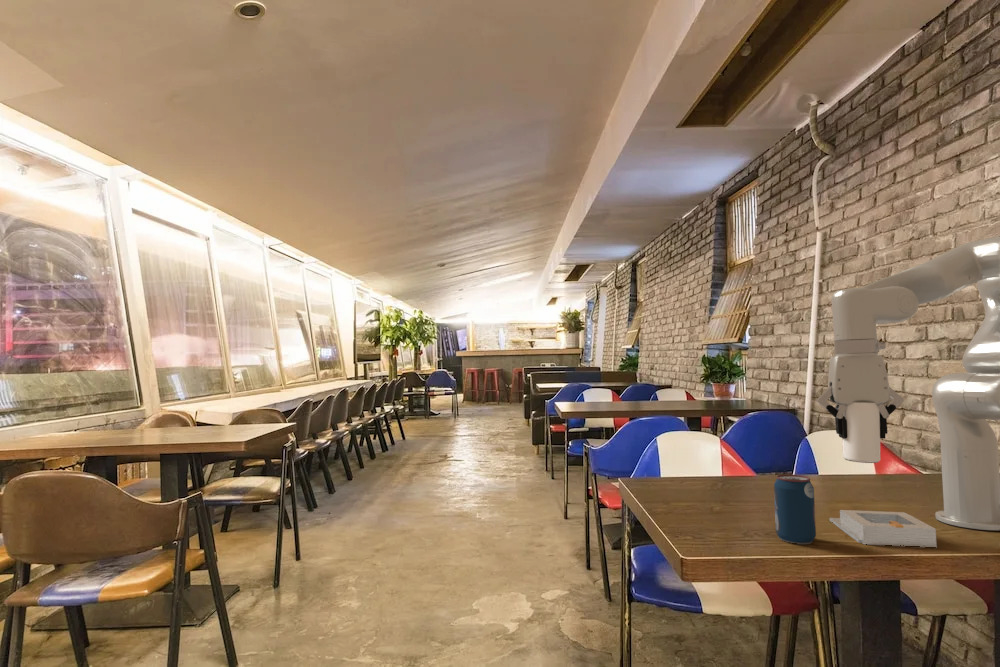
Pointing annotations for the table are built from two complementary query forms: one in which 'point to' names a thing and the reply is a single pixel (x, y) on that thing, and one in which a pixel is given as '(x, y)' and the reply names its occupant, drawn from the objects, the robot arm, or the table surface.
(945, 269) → the robot arm
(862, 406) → the can
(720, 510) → the table surface
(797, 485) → the soda can
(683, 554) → the table surface
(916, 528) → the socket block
